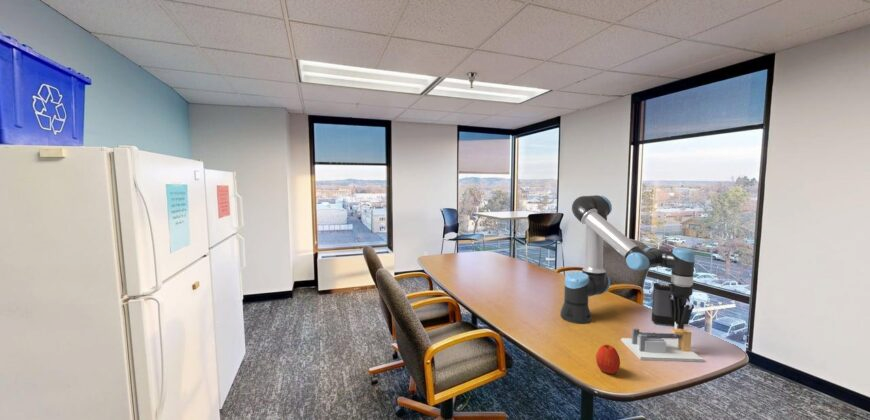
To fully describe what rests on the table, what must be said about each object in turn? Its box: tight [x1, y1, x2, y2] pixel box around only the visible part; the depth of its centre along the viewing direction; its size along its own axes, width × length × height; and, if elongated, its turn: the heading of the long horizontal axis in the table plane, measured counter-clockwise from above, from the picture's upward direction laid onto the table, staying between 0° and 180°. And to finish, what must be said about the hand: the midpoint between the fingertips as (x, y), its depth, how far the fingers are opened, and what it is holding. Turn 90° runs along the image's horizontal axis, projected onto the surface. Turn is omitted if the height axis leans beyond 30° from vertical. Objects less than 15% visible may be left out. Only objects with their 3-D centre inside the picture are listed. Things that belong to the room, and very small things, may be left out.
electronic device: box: [651, 282, 675, 327], centre depth 165 cm, size 9×6×20 cm, turn 71°
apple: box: [595, 344, 621, 375], centre depth 124 cm, size 8×8×11 cm
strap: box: [635, 332, 681, 340], centre depth 139 cm, size 17×4×1 cm, turn 86°
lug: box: [670, 327, 692, 351], centre depth 137 cm, size 6×3×8 cm, turn 86°
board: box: [620, 327, 704, 363], centre depth 139 cm, size 24×16×8 cm, turn 86°
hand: (678, 337), depth 141 cm, fingers closed
